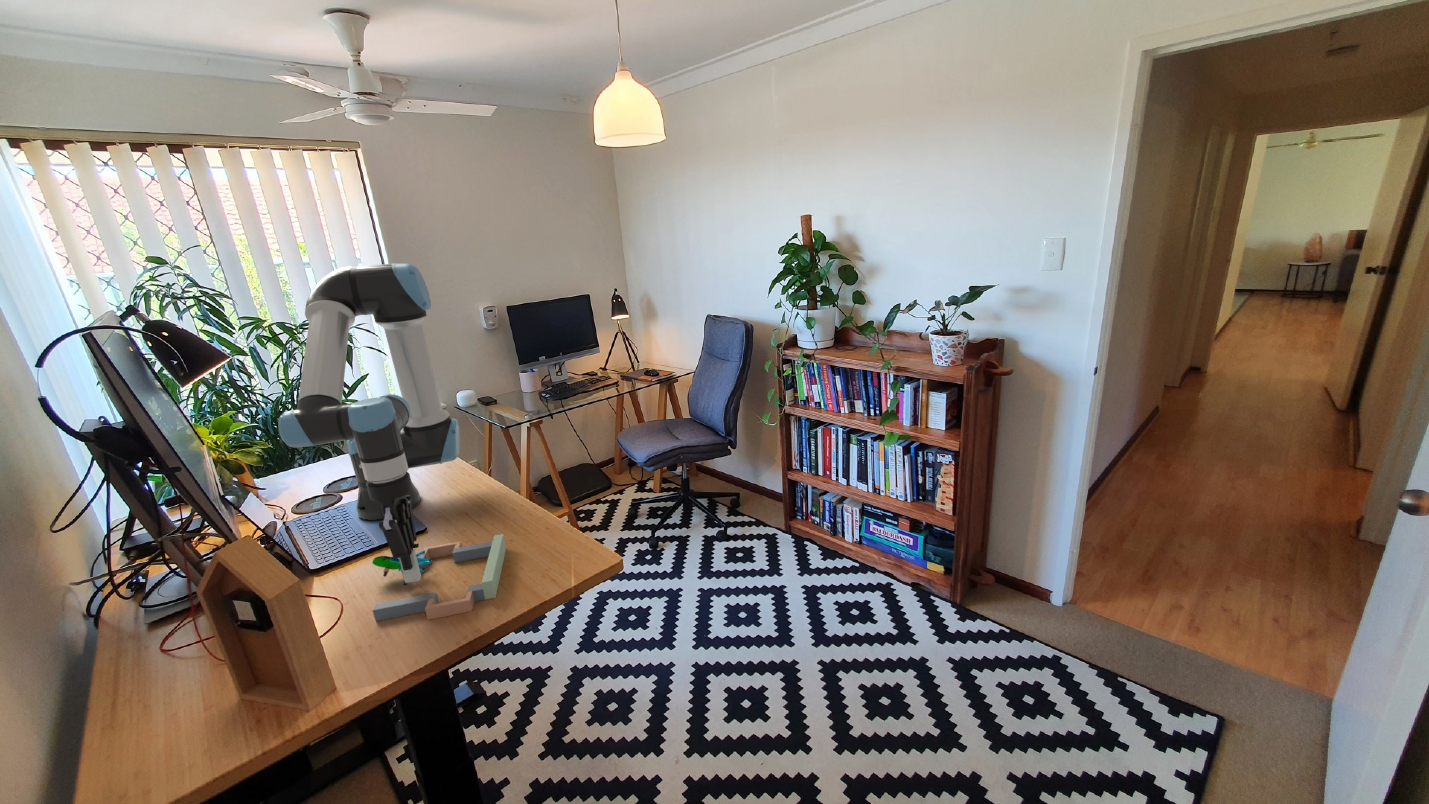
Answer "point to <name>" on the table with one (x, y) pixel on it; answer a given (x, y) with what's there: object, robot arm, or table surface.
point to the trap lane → (474, 593)
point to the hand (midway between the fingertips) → (413, 579)
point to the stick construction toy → (397, 563)
